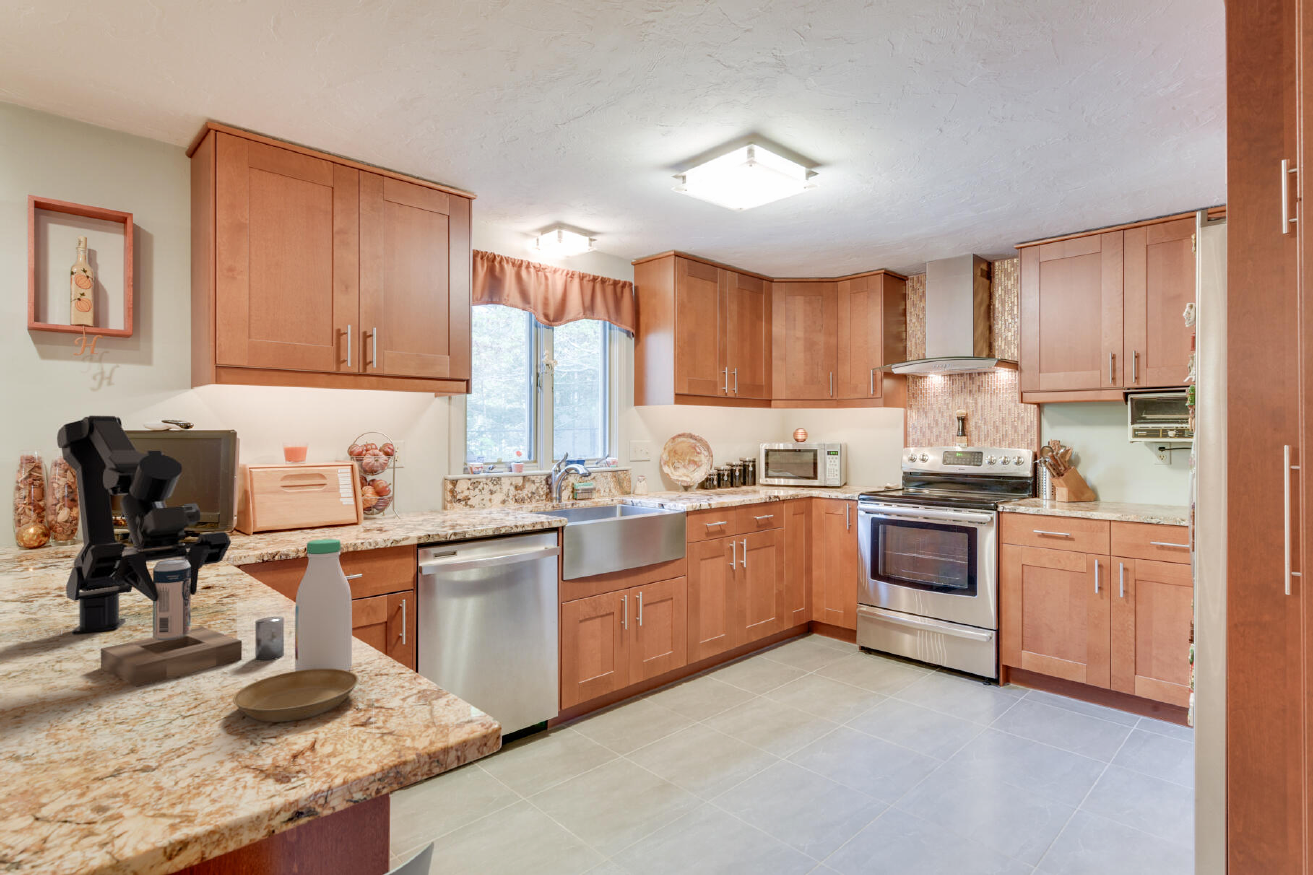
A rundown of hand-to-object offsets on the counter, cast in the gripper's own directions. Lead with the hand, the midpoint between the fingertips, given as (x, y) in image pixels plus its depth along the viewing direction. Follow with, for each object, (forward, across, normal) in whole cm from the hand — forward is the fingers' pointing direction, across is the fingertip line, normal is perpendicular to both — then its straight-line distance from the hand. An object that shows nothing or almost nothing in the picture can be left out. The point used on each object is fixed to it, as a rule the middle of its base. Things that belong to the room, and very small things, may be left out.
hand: (175, 596), depth 104 cm
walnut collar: (+7, 0, +8) cm, 11 cm away
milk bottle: (+24, +12, -8) cm, 27 cm away
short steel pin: (+13, +10, +2) cm, 17 cm away
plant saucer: (+30, +3, -15) cm, 34 cm away
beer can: (+4, 0, +6) cm, 7 cm away
